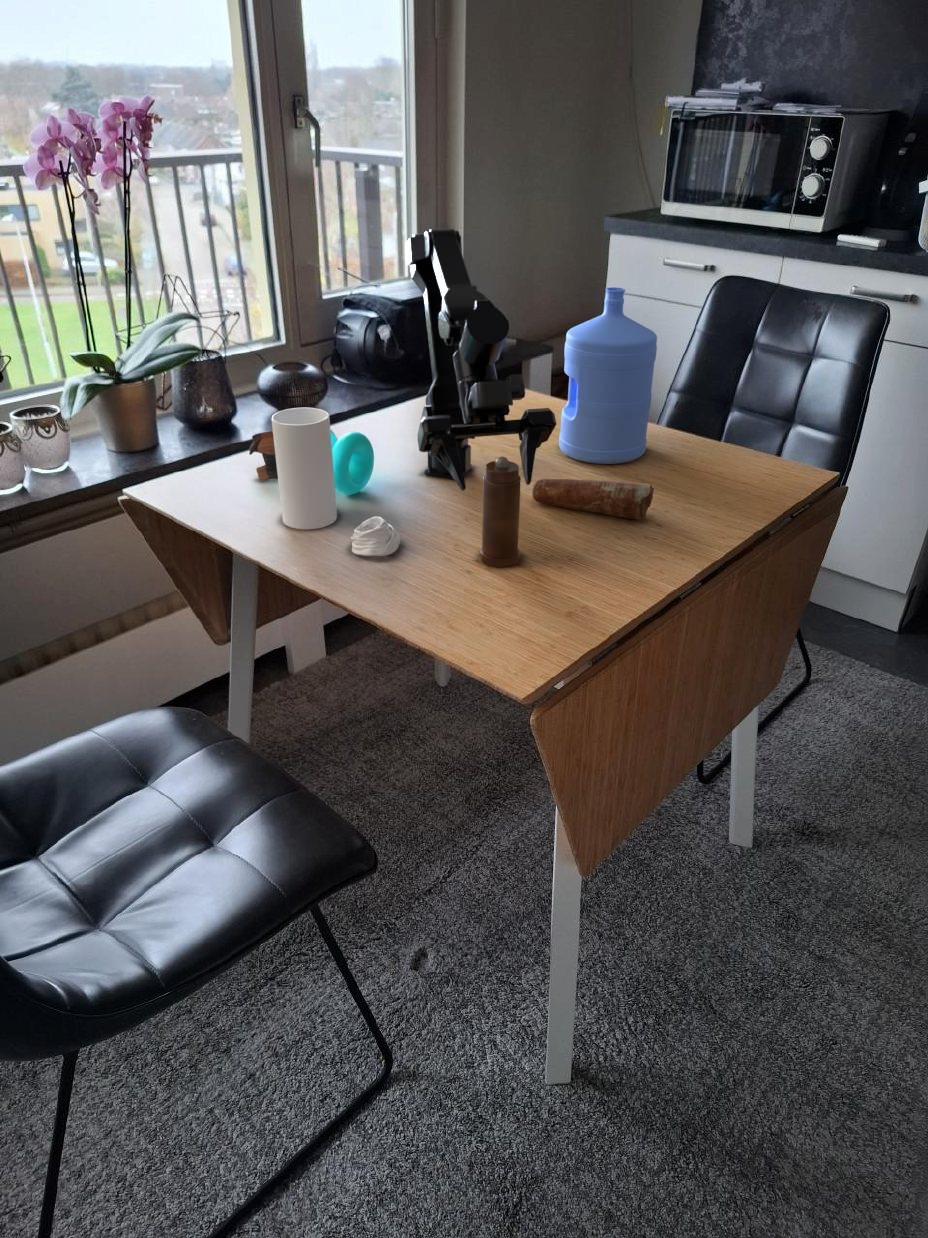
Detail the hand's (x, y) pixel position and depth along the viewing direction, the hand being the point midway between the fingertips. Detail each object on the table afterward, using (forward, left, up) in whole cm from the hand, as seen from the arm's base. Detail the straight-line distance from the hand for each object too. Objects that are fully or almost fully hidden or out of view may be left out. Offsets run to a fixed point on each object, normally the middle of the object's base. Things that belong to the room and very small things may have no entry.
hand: (496, 486), depth 120 cm
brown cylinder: (+9, +18, -10) cm, 23 cm away
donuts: (-32, +12, -10) cm, 36 cm away
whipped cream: (-16, -6, -10) cm, 20 cm away
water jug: (+4, +46, -10) cm, 47 cm away
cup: (-30, 0, -10) cm, 32 cm away
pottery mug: (-44, +15, -10) cm, 47 cm away
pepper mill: (+1, -2, -10) cm, 10 cm away
